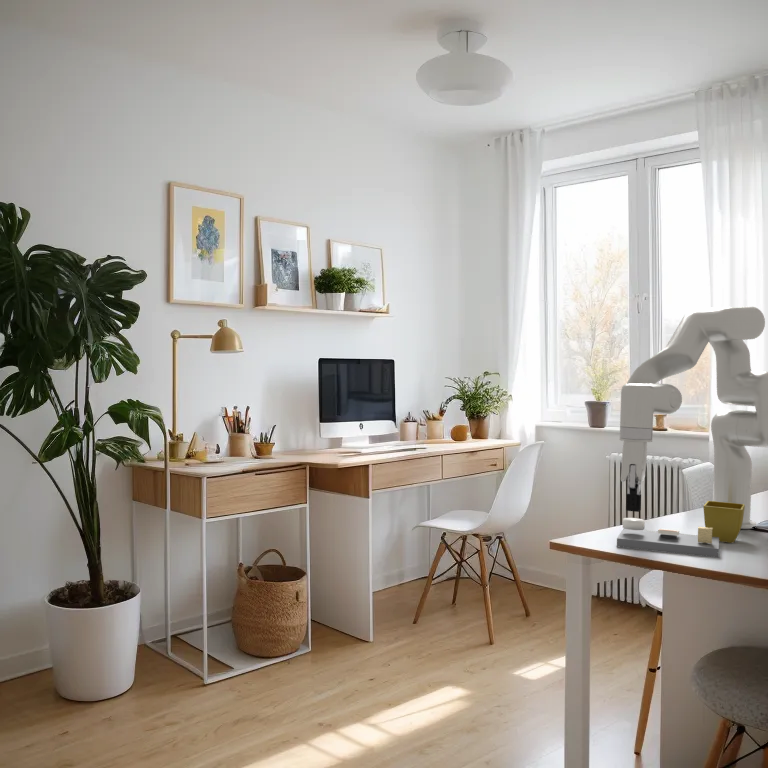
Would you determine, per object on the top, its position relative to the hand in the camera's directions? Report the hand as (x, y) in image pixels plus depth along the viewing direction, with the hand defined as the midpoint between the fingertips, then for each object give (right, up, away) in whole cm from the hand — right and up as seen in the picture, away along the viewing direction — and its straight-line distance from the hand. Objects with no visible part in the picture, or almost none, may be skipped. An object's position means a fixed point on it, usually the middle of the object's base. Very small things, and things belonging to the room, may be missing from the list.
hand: (633, 510), depth 186 cm
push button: (0, -4, 0) cm, 4 cm away
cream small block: (+14, -6, -8) cm, 17 cm away
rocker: (+7, -5, -3) cm, 9 cm away
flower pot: (+24, -9, +5) cm, 26 cm away
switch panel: (+7, -8, -3) cm, 11 cm away
